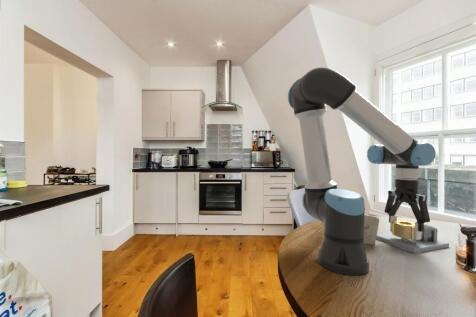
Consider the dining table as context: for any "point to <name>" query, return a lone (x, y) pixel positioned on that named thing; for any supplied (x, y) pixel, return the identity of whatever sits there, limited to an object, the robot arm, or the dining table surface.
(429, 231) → the gear
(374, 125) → the robot arm
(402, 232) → the gear
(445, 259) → the dining table surface
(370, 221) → the mug
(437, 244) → the gear board
